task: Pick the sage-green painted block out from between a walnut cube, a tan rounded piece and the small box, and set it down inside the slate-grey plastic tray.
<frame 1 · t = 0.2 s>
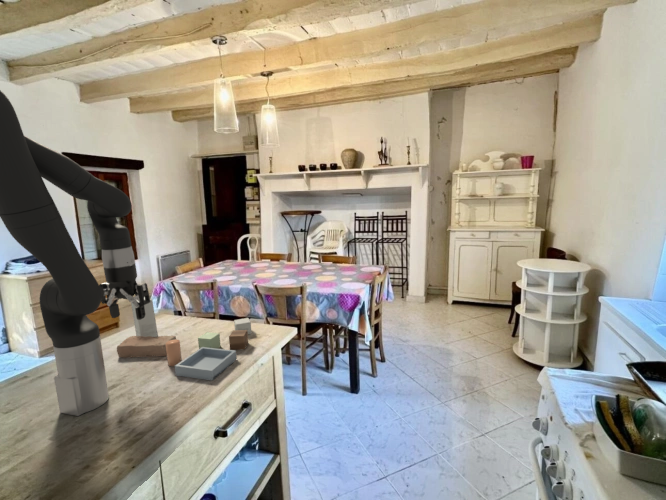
hand: (128, 317, 94), 18 cm above the counter, tool pointing down, fingers open, 8 cm apart
tan rounded piece: (175, 362, 104), on the counter
skincare box: (146, 336, 125), on the counter
green block: (210, 349, 113), on the counter
walnut cube: (239, 346, 114), on the counter
small box: (243, 333, 126), on the counter
brick: (149, 352, 112), on the counter
tray: (207, 367, 101), on the counter
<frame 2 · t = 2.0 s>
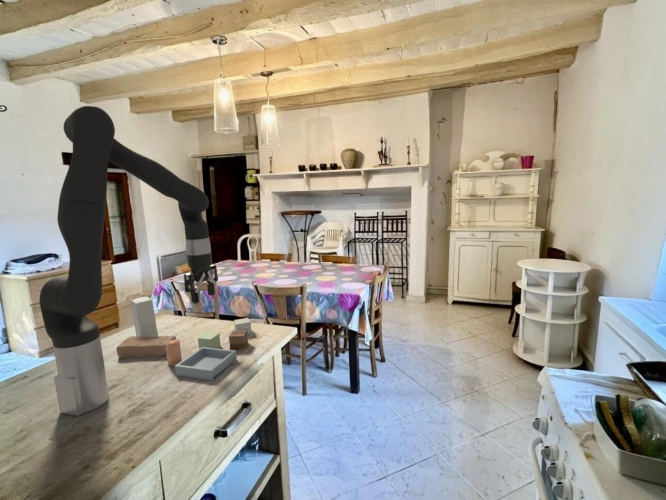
hand: (204, 298, 110), 18 cm above the counter, tool pointing down, fingers open, 8 cm apart
nothing on the counter moved.
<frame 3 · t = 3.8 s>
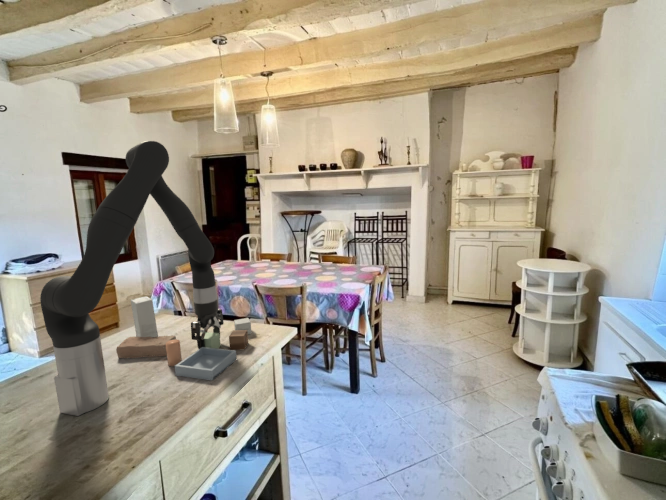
hand: (209, 343, 113), 2 cm above the counter, tool pointing down, fingers open, 8 cm apart
nothing on the counter moved.
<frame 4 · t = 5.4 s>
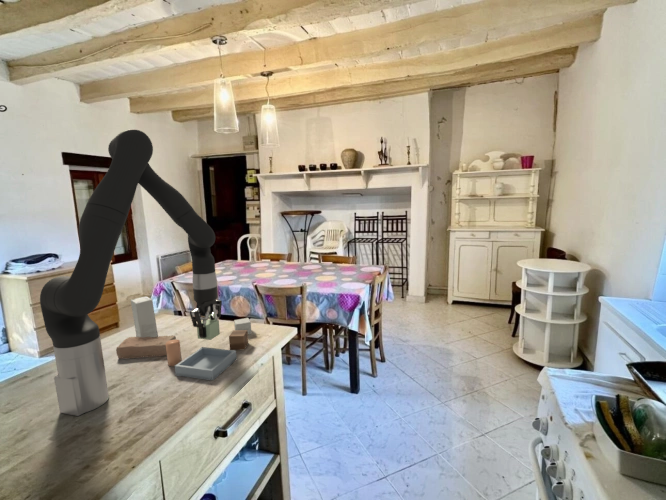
hand: (208, 334, 111), 6 cm above the counter, tool pointing down, fingers closed on green block, 5 cm apart
green block: (208, 336, 111), point 5 cm above the counter, touching gripper
everything else where it was.
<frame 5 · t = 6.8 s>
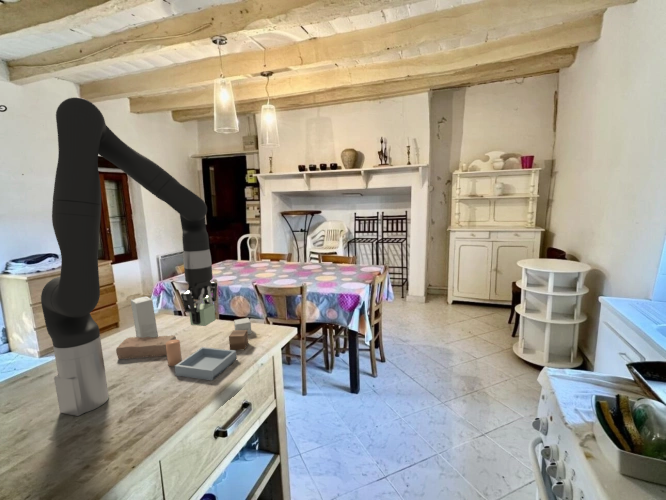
hand: (202, 320, 98), 15 cm above the counter, tool pointing down, fingers closed on green block, 5 cm apart
green block: (203, 322, 98), point 14 cm above the counter, touching gripper
everything else where it was.
when the fingers open (3 cm above the counter, at t = 9.4 s): green block drops 2 cm, resting on tray.
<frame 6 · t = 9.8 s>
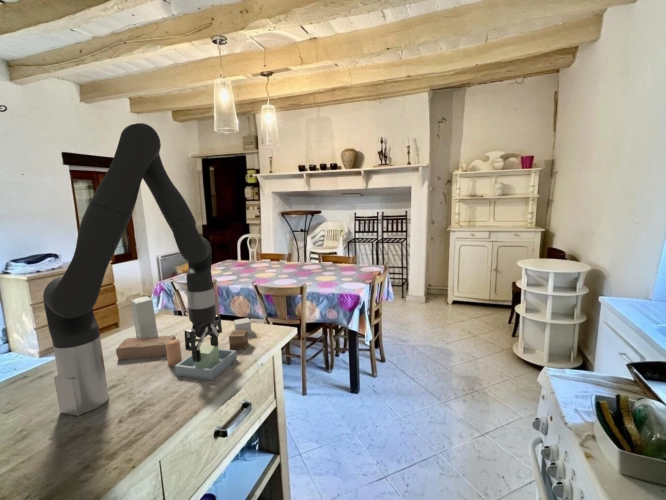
hand: (206, 354, 100), 4 cm above the counter, tool pointing down, fingers open, 8 cm apart
green block: (207, 364, 101), point 1 cm above the counter, touching tray
everything else where it was.
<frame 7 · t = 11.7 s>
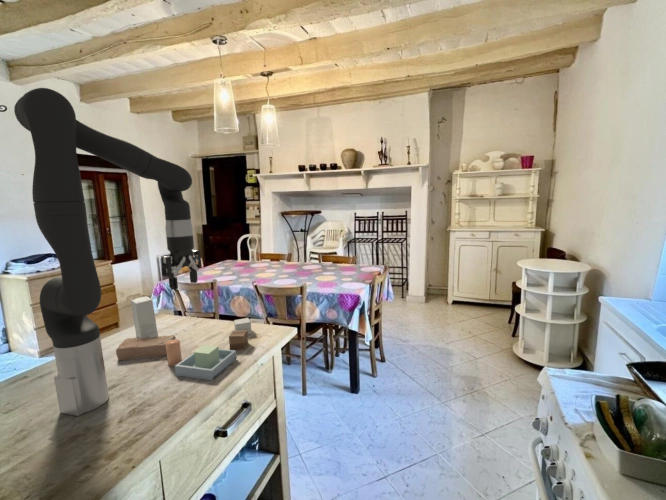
hand: (184, 285, 103), 24 cm above the counter, tool pointing down, fingers open, 8 cm apart
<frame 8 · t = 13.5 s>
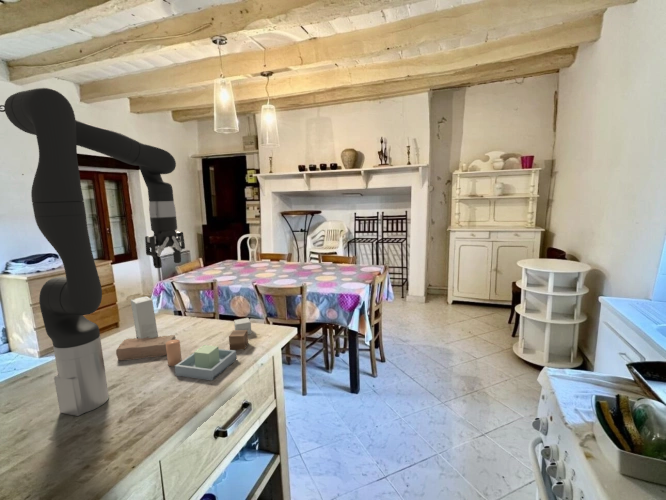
hand: (168, 265, 107), 30 cm above the counter, tool pointing down, fingers open, 8 cm apart
at the end: green block inside the target area on the tray (0.1 cm from its centre), point 0.8 cm above the tray's base; green block tilted 0°; the gripper is holding nothing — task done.
